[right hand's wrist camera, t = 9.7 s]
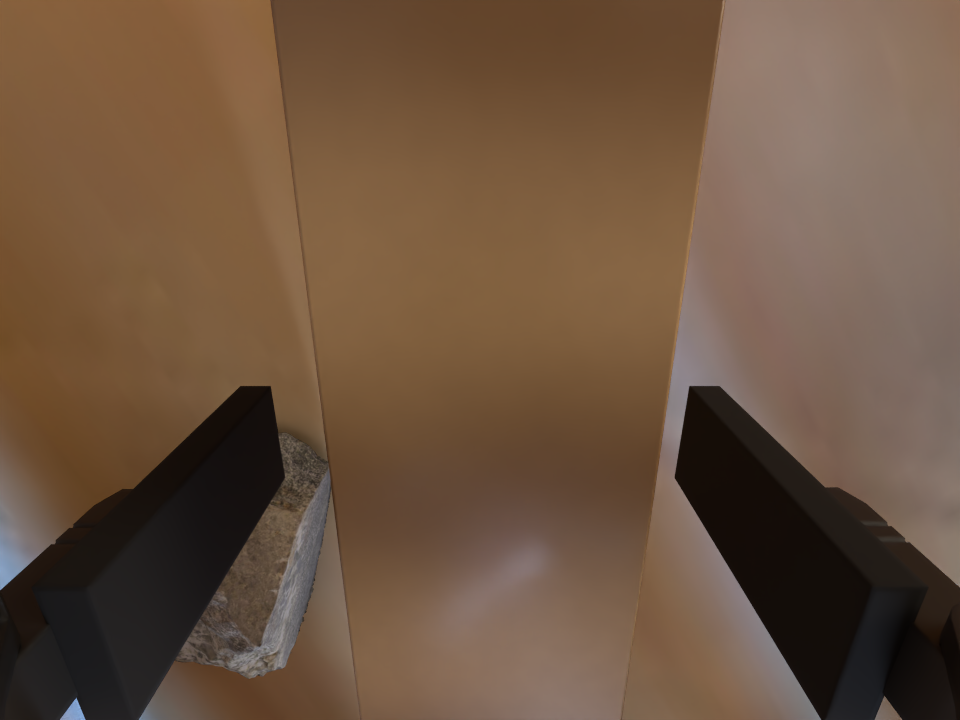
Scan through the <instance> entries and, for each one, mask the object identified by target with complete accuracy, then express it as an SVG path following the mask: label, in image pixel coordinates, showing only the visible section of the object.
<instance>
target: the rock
mask: <svg viewBox="0 0 960 720" xmlns="http://www.w3.org/2000/svg"><path fill="white" fill-rule="evenodd" d="M278 435H279V441H280V448H281V454H282V460H283V466H284V472H285V479H284V481H283V482H282V484H281V486H280V487H279V489H278V491H277V492H276V494H275V496H274V497H273V499H272V501H271V502H270V504H269V505H268V507H267V509H266V510H265V512H264V514H263V515H262V517H261V519H260V520H259V522H258V524H257V525H256V527H255V529H254V530H253V532H252V533H251V535H250V537H249V538H248V540H247V542H246V543H245V545H244V547H243V548H242V550H241V552H240V553H239V555H238V557H237V558H236V560H235V562H234V563H233V565H232V566H231V568H230V570H229V571H228V573H227V575H226V576H225V578H224V580H223V581H222V583H221V585H220V586H219V588H218V590H217V591H216V593H215V595H214V596H213V598H212V599H211V601H210V603H209V604H208V606H207V608H206V609H205V611H204V613H203V614H202V616H201V618H200V619H199V621H198V623H197V624H196V626H195V628H194V629H193V631H192V632H191V634H190V636H189V637H188V639H187V641H186V642H185V644H184V646H183V647H182V649H181V651H180V652H179V654H178V656H177V657H176V659H175V660H176V661H179V662H196V663H199V664H203V665H215V666H223V667H224V668H226V669H227V670H229V671H234V672H237V673H239V674H241V675H243V676H244V677H246V678H248V679H250V678H253V677H256V676H257V675H259V676H264V675H265V674H266V673H267V672H270V671H274V670H276V669H282V668H284V667H285V665H286V663H287V660H288V657H289V654H290V652H291V649H292V648H293V646H294V645H295V643H296V639H297V636H298V632H299V631H300V630H299V629H300V626H301V622H303V621H304V617H303V615H304V613H306V612H307V611H306V609H307V606H308V601H309V600H310V598H311V594H312V592H313V587H312V586H313V584H314V583H313V582H314V581H315V578H314V577H315V574H316V567H317V562H318V558H319V555H320V549H321V545H322V541H323V539H322V538H323V536H324V535H323V534H324V528H325V523H326V516H327V509H328V507H329V506H328V505H329V504H328V503H329V499H330V492H331V485H330V482H331V480H330V472H329V464H328V462H327V461H325V460H324V459H320V457H319V456H317V454H316V453H315V452H314V451H313V450H312V449H311V447H310V446H308V445H307V444H305V443H303V442H301V441H298V439H296V438H294V437H293V436H292V435H290V434H288V433H278Z"/></svg>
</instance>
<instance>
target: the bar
mask: <svg viewBox="0 0 960 720" xmlns="http://www.w3.org/2000/svg"><path fill="white" fill-rule="evenodd" d="M724 7H725V0H271V8H272V16H273V24H274V32H275V40H276V48H277V56H278V64H279V72H280V80H281V88H282V96H283V104H284V112H285V120H286V128H287V136H288V144H289V152H290V160H291V168H292V176H293V184H294V192H295V200H296V208H297V216H298V224H299V232H300V240H301V248H302V256H303V264H304V272H305V280H306V288H307V296H308V304H309V312H310V320H311V328H312V336H313V344H314V352H315V360H316V368H317V376H318V384H319V392H320V400H321V408H322V416H323V424H324V432H325V440H326V448H327V456H328V464H329V472H330V480H331V488H332V496H333V504H334V512H335V520H336V528H337V536H338V544H339V552H340V560H341V568H342V576H343V584H344V592H345V600H346V608H347V616H348V624H349V632H350V640H351V648H352V656H353V664H354V672H355V680H356V688H357V696H358V704H359V712H360V720H622V713H623V706H624V700H625V693H626V686H627V679H628V672H629V665H630V658H631V651H632V644H633V637H634V630H635V623H636V616H637V610H638V603H639V596H640V589H641V582H642V575H643V568H644V561H645V554H646V547H647V540H648V533H649V526H650V519H651V513H652V506H653V499H654V492H655V485H656V478H657V471H658V464H659V457H660V450H661V443H662V436H663V429H664V423H665V416H666V409H667V402H668V395H669V388H670V381H671V374H672V367H673V360H674V353H675V346H676V339H677V332H678V326H679V319H680V312H681V305H682V298H683V291H684V284H685V277H686V270H687V263H688V256H689V249H690V242H691V235H692V229H693V222H694V215H695V208H696V201H697V194H698V187H699V180H700V173H701V166H702V159H703V152H704V145H705V139H706V132H707V125H708V118H709V111H710V104H711V97H712V90H713V83H714V76H715V69H716V62H717V55H718V48H719V42H720V35H721V28H722V21H723V14H724Z"/></svg>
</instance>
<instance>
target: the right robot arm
mask: <svg viewBox="0 0 960 720" xmlns="http://www.w3.org/2000/svg"><path fill="white" fill-rule="evenodd" d="M284 479H285V472H284V466H283V460H282V454H281V448H280V441H279V435H278V429H277V423H276V417H275V411H274V404H273V398H272V392H271V386H240V387H239V388H238V389H237V390H236V391H235V392H234V393H233V394H232V395H231V396H230V397H229V398H228V399H227V400H226V401H225V402H224V403H223V404H221V405H220V406H219V407H218V408H217V409H216V410H215V411H214V412H213V413H212V414H211V415H210V416H209V417H208V418H207V419H206V420H205V421H204V422H203V423H202V424H201V425H200V426H199V427H198V428H196V429H195V430H194V431H193V432H192V433H191V434H190V435H189V436H188V437H187V438H186V439H185V440H184V441H183V442H182V443H181V444H180V445H179V446H178V447H177V448H176V449H175V450H174V451H172V452H171V453H170V454H169V455H168V456H167V457H166V458H165V459H164V460H163V461H162V462H161V463H160V464H159V465H158V466H157V467H156V468H155V469H154V470H153V471H152V472H151V473H150V474H149V475H147V476H146V477H145V478H144V479H143V480H142V481H141V482H140V483H139V484H138V485H137V486H136V487H135V488H134V489H122V490H120V491H119V492H117V493H115V494H113V495H112V496H110V497H108V498H106V499H105V500H103V501H101V502H99V503H98V504H96V505H94V506H93V507H92V508H91V509H90V510H89V511H88V512H87V513H85V514H84V515H83V516H82V517H81V518H80V519H79V520H78V521H77V522H75V523H74V524H73V525H74V526H73V528H69V529H68V530H67V531H66V532H64V533H63V534H62V535H61V536H60V537H59V538H58V539H57V540H56V543H55V544H51V545H50V546H49V547H48V548H47V549H46V550H45V551H43V552H42V553H41V554H40V555H39V556H38V557H37V558H36V559H35V560H33V561H32V562H31V563H30V564H29V565H28V566H27V567H26V568H25V569H24V570H22V571H21V572H20V573H19V574H18V575H17V576H16V577H15V578H14V579H12V580H11V581H10V582H9V583H8V584H7V585H6V586H5V587H4V588H3V589H1V590H0V720H60V719H61V717H62V716H63V715H64V713H65V712H66V711H67V709H68V708H69V707H70V705H71V704H72V703H73V701H74V700H75V699H76V697H77V700H78V702H79V705H80V707H81V710H82V712H83V715H84V717H85V719H86V720H139V718H140V717H141V715H142V713H143V712H144V710H145V708H146V707H147V705H148V703H149V702H150V700H151V698H152V697H153V695H154V694H155V692H156V690H157V689H158V687H159V685H160V684H161V682H162V680H163V679H164V677H165V675H166V674H167V672H168V670H169V669H170V667H171V665H172V664H173V662H174V661H175V659H176V657H177V656H178V654H179V652H180V651H181V649H182V647H183V646H184V644H185V642H186V641H187V639H188V637H189V636H190V634H191V632H192V631H193V629H194V628H195V626H196V624H197V623H198V621H199V619H200V618H201V616H202V614H203V613H204V611H205V609H206V608H207V606H208V604H209V603H210V601H211V599H212V598H213V596H214V595H215V593H216V591H217V590H218V588H219V586H220V585H221V583H222V581H223V580H224V578H225V576H226V575H227V573H228V571H229V570H230V568H231V566H232V565H233V563H234V562H235V560H236V558H237V557H238V555H239V553H240V552H241V550H242V548H243V547H244V545H245V543H246V542H247V540H248V538H249V537H250V535H251V533H252V532H253V530H254V529H255V527H256V525H257V524H258V522H259V520H260V519H261V517H262V515H263V514H264V512H265V510H266V509H267V507H268V505H269V504H270V502H271V501H272V499H273V497H274V496H275V494H276V492H277V491H278V489H279V487H280V486H281V484H282V482H283V481H284ZM675 479H676V481H677V482H678V484H679V486H680V487H681V489H682V491H683V492H684V494H685V496H686V497H687V499H688V500H689V502H690V504H691V505H692V507H693V509H694V510H695V512H696V514H697V515H698V517H699V519H700V520H701V522H702V524H703V525H704V527H705V529H706V530H707V532H708V533H709V535H710V537H711V538H712V540H713V542H714V543H715V545H716V547H717V548H718V550H719V552H720V553H721V555H722V557H723V558H724V560H725V562H726V563H727V565H728V566H729V568H730V570H731V571H732V573H733V575H734V576H735V578H736V580H737V581H738V583H739V585H740V586H741V588H742V590H743V591H744V593H745V595H746V596H747V598H748V599H749V601H750V603H751V604H752V606H753V608H754V609H755V611H756V613H757V614H758V616H759V618H760V619H761V621H762V623H763V624H764V626H765V628H766V629H767V631H768V632H769V634H770V636H771V637H772V639H773V641H774V642H775V644H776V646H777V647H778V649H779V651H780V652H781V654H782V656H783V657H784V659H785V661H786V662H787V664H788V665H789V667H790V669H791V670H792V672H793V674H794V675H795V677H796V679H797V680H798V682H799V684H800V685H801V687H802V689H803V690H804V692H805V693H806V695H807V697H808V698H809V700H810V702H811V703H812V705H813V707H814V708H815V710H816V712H817V713H818V715H819V717H820V718H821V720H874V719H875V717H876V715H877V712H878V710H879V707H880V705H881V702H882V700H883V698H884V696H885V697H886V698H887V700H888V701H889V702H890V704H891V705H892V706H893V708H894V709H895V710H896V712H897V713H898V714H899V716H900V717H901V718H902V720H960V587H958V586H957V585H956V584H955V583H954V582H953V581H952V580H951V579H950V578H948V577H947V576H946V575H945V574H944V573H943V572H942V571H941V570H940V569H938V568H937V567H936V566H935V565H934V564H933V563H932V562H931V561H930V560H928V559H927V558H926V557H925V556H924V555H923V554H922V553H921V552H920V551H918V550H917V549H916V548H915V547H914V546H913V545H912V544H911V543H910V542H905V538H904V537H903V536H902V535H901V534H899V533H898V532H897V531H896V530H895V529H894V528H893V527H892V526H888V525H887V522H886V521H885V520H884V519H883V518H882V517H881V516H879V515H878V514H877V513H876V512H875V511H874V510H873V509H872V508H871V507H869V506H868V505H867V504H866V503H864V502H863V501H861V500H859V499H857V498H856V497H854V496H852V495H850V494H849V493H847V492H845V491H843V490H841V489H840V488H825V487H824V486H823V485H822V484H821V483H820V482H819V481H818V480H817V479H816V478H815V477H814V476H813V475H811V474H810V473H809V472H808V471H807V470H806V469H805V468H804V467H803V466H802V465H801V464H800V463H799V462H798V461H797V460H796V459H795V458H794V457H793V456H792V455H791V454H790V453H789V452H788V451H786V450H785V449H784V448H783V447H782V446H781V445H780V444H779V443H778V442H777V441H776V440H775V439H774V438H773V437H772V436H771V435H770V434H769V433H768V432H767V431H766V430H765V429H764V428H762V427H761V426H760V425H759V424H758V423H757V422H756V421H755V420H754V419H753V418H752V417H751V416H750V415H749V414H748V413H747V412H746V411H745V410H744V409H743V408H742V407H741V406H740V405H739V404H737V403H736V402H735V401H734V400H733V399H732V398H731V397H730V396H729V395H728V394H727V393H726V392H725V391H724V390H723V389H722V388H721V387H720V386H689V392H688V398H687V405H686V411H685V417H684V423H683V429H682V435H681V442H680V448H679V454H678V460H677V466H676V472H675Z"/></svg>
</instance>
